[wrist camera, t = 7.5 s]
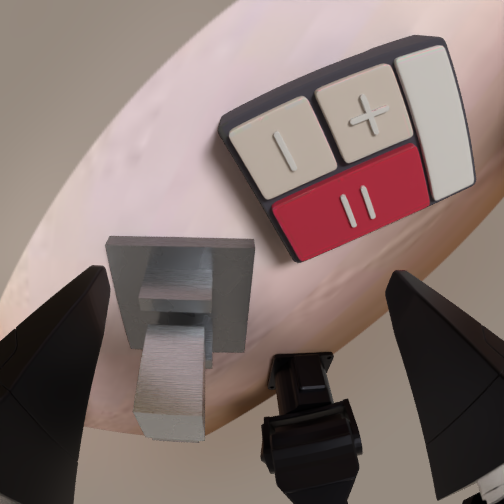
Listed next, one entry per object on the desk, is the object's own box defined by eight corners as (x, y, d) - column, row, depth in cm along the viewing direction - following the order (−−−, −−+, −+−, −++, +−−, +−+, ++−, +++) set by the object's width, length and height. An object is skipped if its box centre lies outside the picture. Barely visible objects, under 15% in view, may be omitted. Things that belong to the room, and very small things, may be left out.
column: (205, 362, 25) (205, 442, 19) (156, 360, 24) (146, 439, 18) (204, 326, 22) (202, 416, 16) (147, 324, 22) (133, 411, 16)
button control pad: (213, 131, 16) (451, 36, 12) (218, 114, 20) (417, 33, 16) (297, 273, 22) (483, 189, 18) (289, 237, 26) (453, 165, 22)
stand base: (243, 342, 31) (246, 388, 27) (132, 339, 30) (123, 383, 26) (253, 239, 24) (260, 286, 20) (109, 236, 23) (88, 281, 19)
